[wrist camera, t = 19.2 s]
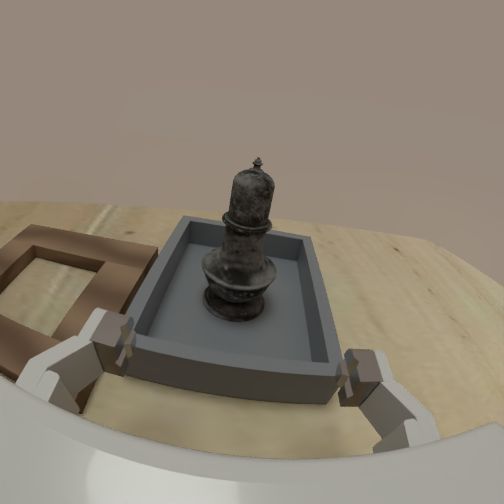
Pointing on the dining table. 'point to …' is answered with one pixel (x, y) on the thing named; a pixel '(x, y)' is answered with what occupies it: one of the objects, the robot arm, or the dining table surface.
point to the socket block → (94, 295)
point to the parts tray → (236, 324)
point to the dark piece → (242, 251)
